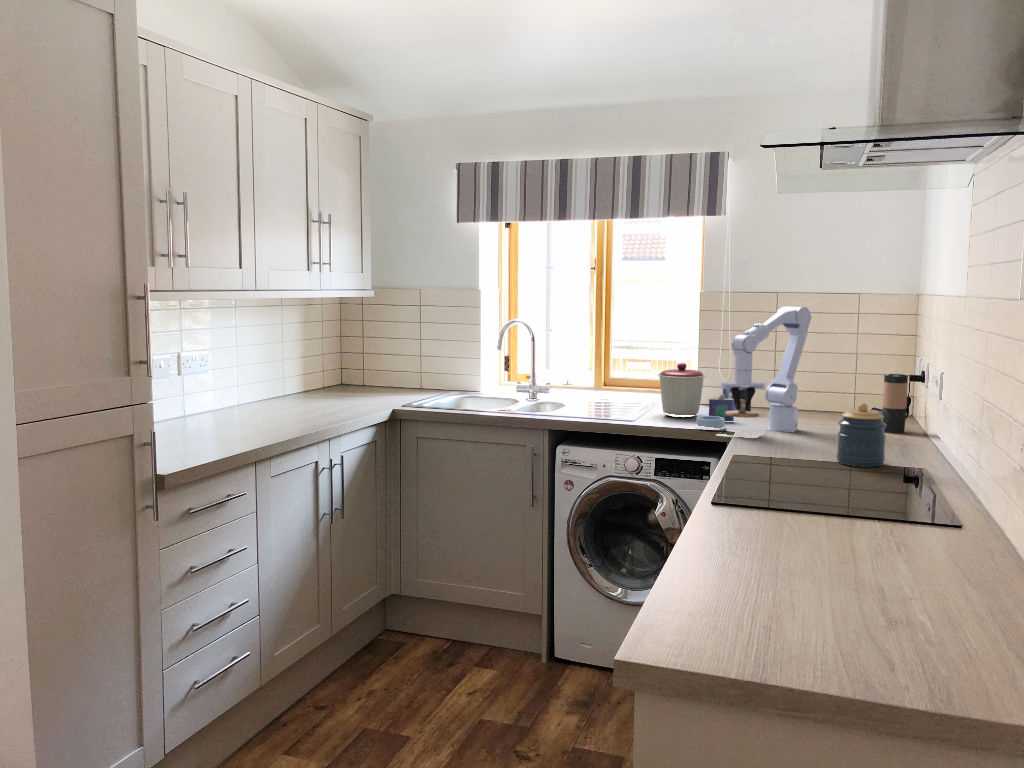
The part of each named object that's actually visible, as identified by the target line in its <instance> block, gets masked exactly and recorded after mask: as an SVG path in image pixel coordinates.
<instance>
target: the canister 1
mask: <svg viewBox="0 0 1024 768" xmlns="http://www.w3.org/2000/svg"><path fill="white" fill-rule="evenodd" d="M657 376H658V377H659V386H660V397H661V398H660V399H661V405H662V411H663V413H664V412H665V413H668V414H675V415H696V414H697V415H698V413H699V411H700V406H701V401H702V393H703V385H704V378H706V374H704V373H703V372H702V371H700V370H696V369H694V370H693V369H687V364H686V363H685V362H679V363H678V364H677V366H676V368H675V369H665V370H663V371H661V372H660V373H657ZM697 415H696V416H697Z"/></svg>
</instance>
